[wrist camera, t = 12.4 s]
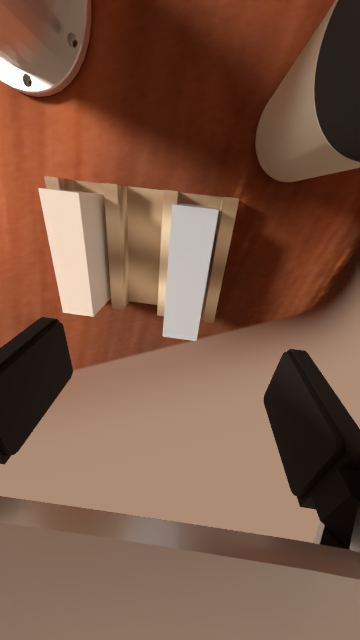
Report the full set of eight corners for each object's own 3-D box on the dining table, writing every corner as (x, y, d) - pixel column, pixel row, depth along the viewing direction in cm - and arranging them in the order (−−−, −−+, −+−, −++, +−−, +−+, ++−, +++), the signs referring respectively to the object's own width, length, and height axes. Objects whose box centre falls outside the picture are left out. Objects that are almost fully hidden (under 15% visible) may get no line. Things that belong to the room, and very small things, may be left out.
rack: (64, 179, 24) (41, 175, 21) (236, 199, 24) (242, 198, 20) (80, 291, 31) (65, 303, 28) (214, 309, 31) (215, 323, 27)
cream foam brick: (79, 191, 24) (38, 188, 18) (110, 194, 24) (78, 192, 18) (91, 289, 30) (63, 312, 24) (115, 293, 30) (93, 316, 24)
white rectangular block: (182, 203, 24) (172, 204, 16) (213, 206, 24) (218, 209, 16) (173, 300, 30) (162, 336, 22) (198, 303, 29) (196, 341, 22)
